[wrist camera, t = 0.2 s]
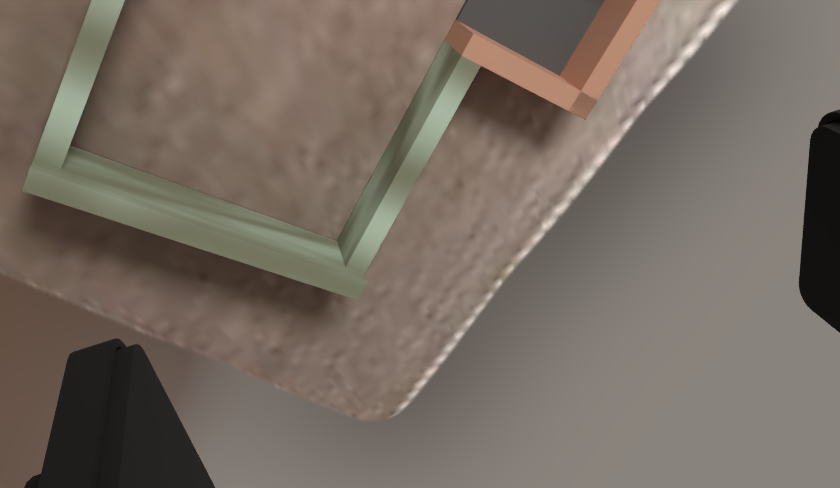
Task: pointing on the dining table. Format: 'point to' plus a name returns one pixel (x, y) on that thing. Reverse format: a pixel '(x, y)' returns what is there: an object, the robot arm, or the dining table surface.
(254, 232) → the track
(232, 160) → the dining table surface
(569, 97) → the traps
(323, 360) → the dining table surface
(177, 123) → the dining table surface
